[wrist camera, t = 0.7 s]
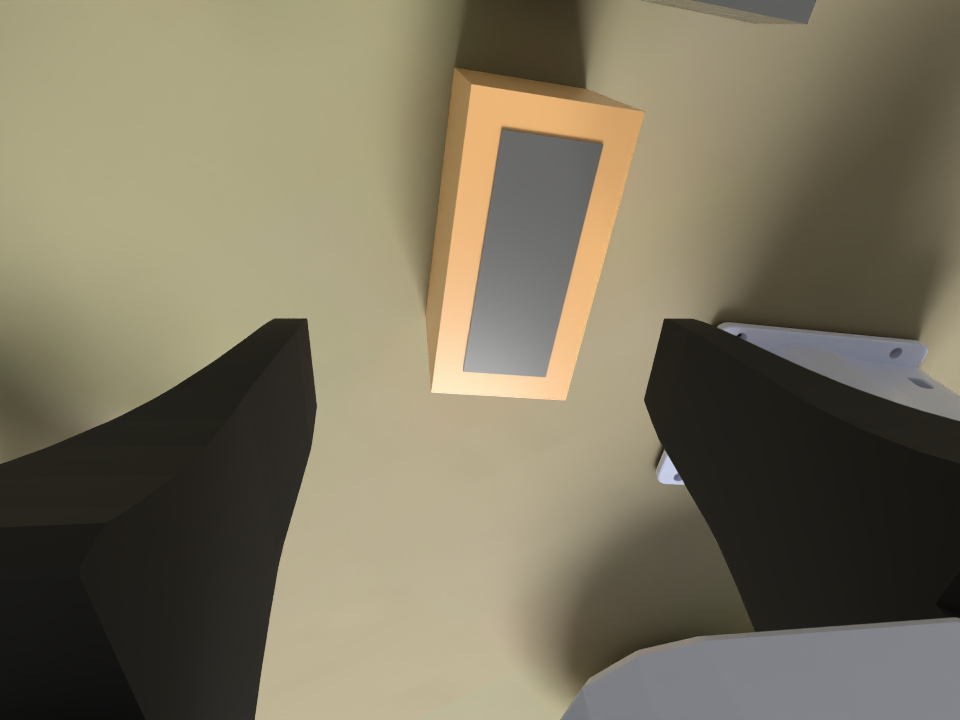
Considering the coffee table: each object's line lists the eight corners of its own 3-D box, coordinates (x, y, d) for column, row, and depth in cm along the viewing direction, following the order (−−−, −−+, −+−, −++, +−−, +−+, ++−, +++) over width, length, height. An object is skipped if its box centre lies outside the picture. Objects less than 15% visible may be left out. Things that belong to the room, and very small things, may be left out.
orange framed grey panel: (584, 88, 17) (646, 112, 13) (532, 323, 21) (566, 401, 17) (453, 67, 16) (472, 84, 12) (425, 314, 20) (431, 393, 16)
